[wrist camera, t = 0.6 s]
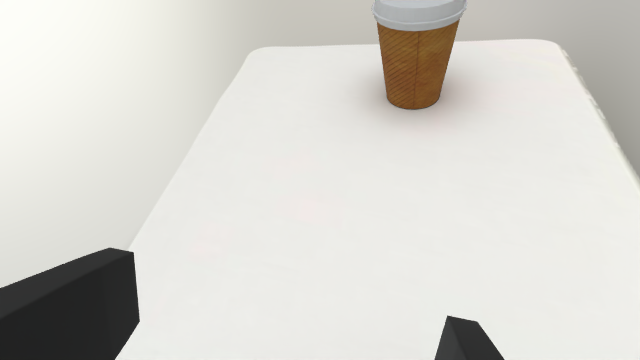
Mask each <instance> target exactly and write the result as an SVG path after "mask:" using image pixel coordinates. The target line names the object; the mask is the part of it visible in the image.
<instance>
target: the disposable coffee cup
mask: <svg viewBox="0 0 640 360" xmlns="http://www.w3.org/2000/svg"><path fill="white" fill-rule="evenodd" d="M466 7H467V0H375V2H374V3H373V5H372V13H373V14H374V17H375V19H376V21H377V27H378V34H379V41H380V49H381V56H382V64H383V71H384V78H385V85H386V93H387V98H388V100H389V101H390V102H391V103H392V104H394V105H395V106H398V107H401V108H406V109H419V108H424V107H428V106H430V105H432V104H434V103H435V102H436V101H437V100H438V99H439V96H440V92H441V88H442V84H443V80H444V77H445V73H446V69H447V65H448V61H449V58H450V54H451V50H452V47H453V43H454V38H455V35H456V31H457V27H458V23H459V20H460V17H461V16H462V15H463V12H464V11H465V10H466Z"/></svg>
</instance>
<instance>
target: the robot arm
mask: <svg viewBox="0 0 640 360" xmlns="http://www.w3.org/2000/svg"><path fill="white" fill-rule="evenodd" d="M139 322H140V319H139V308H138V297H137V285H136V274H135V263H134V252H129V251H124V250H119V249H114V248H107V249H104V250H101V251H98V252H95V253H92V254H89V255H86V256H83V257H81V258H78V259H75V260H72V261H70V262H67V263H65V264H62V265H59V266H57V267H54V268H52V269H49V270H47V271H44V272H41V273H39V274H36V275H34V276H31V277H28V278H26V279H23V280H21V281H18V282H15V283H13V284H10V285H8V286H5V287H2V288H0V360H115V358H116V357H117V356H118V354H119V353H120V351H121V350H122V348H123V347H124V345H125V344H126V342H127V341H128V339H129V338H130V336H131V334H132V333H133V331H134V330H135V328H136V326H137V325H138V323H139ZM435 360H504V358H503V357H502V355H501V354H500V353H499V351H498V350H497V348H496V347H495V346H494V344H493V343H492V341H491V340H490V339H489V337H488V336H487V334H486V333H485V332H484V330H483V329H482V327H481V326H480V325H479V323H478V322H476V321H471V320H466V319H461V318H456V317H451V316H447V319H446V322H445V326H444V329H443V332H442V336H441V339H440V343H439V346H438V350H437V353H436V356H435Z"/></svg>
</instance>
